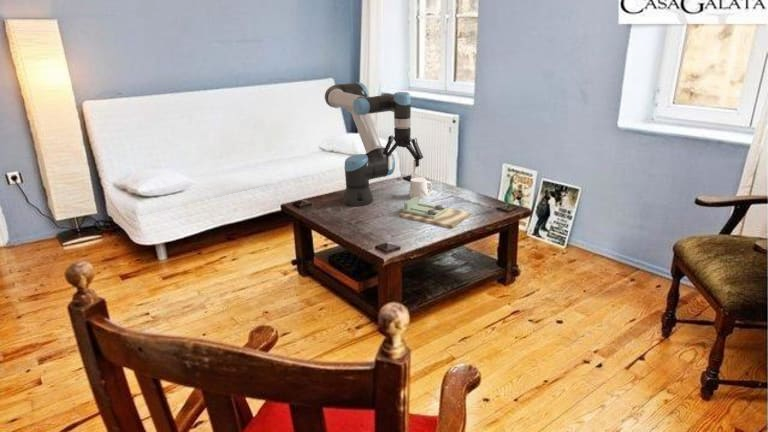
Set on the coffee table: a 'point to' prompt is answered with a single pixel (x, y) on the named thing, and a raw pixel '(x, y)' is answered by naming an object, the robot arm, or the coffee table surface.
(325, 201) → the coffee table surface
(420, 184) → the mug
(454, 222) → the board
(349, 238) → the coffee table surface
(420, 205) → the panel
